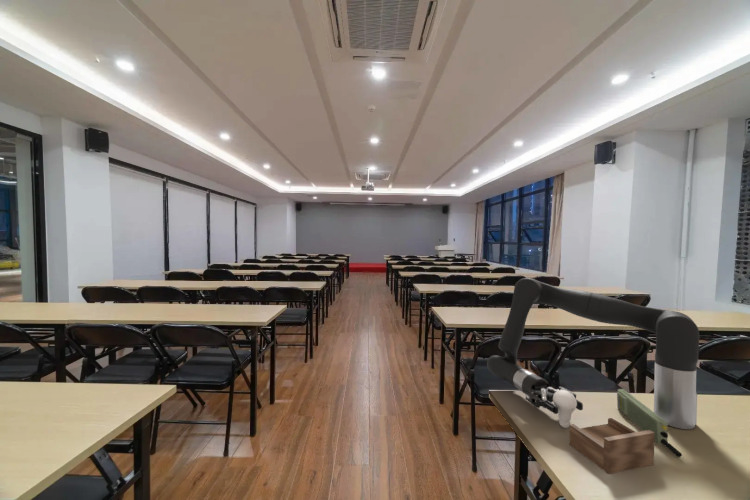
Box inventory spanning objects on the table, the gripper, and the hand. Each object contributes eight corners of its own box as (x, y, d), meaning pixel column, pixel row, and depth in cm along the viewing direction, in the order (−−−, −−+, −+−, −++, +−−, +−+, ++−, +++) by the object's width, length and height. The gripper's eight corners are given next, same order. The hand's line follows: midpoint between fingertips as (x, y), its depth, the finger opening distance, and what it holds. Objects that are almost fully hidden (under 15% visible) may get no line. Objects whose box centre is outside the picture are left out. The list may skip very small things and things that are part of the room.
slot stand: (611, 437, 90) (611, 409, 90) (653, 464, 79) (654, 432, 79) (569, 444, 87) (569, 415, 86) (608, 473, 76) (608, 440, 76)
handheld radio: (626, 409, 105) (687, 460, 80) (615, 408, 106) (672, 459, 81) (626, 389, 105) (686, 434, 80) (615, 388, 106) (671, 433, 81)
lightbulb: (548, 426, 95) (549, 390, 95) (557, 419, 99) (558, 384, 99) (571, 436, 90) (571, 398, 90) (579, 428, 94) (580, 391, 94)
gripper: (512, 375, 107) (548, 399, 91) (548, 371, 110) (590, 393, 94) (512, 397, 107) (548, 424, 91) (548, 392, 110) (589, 418, 94)
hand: (569, 408), depth 93 cm, fingers open, 8 cm apart
